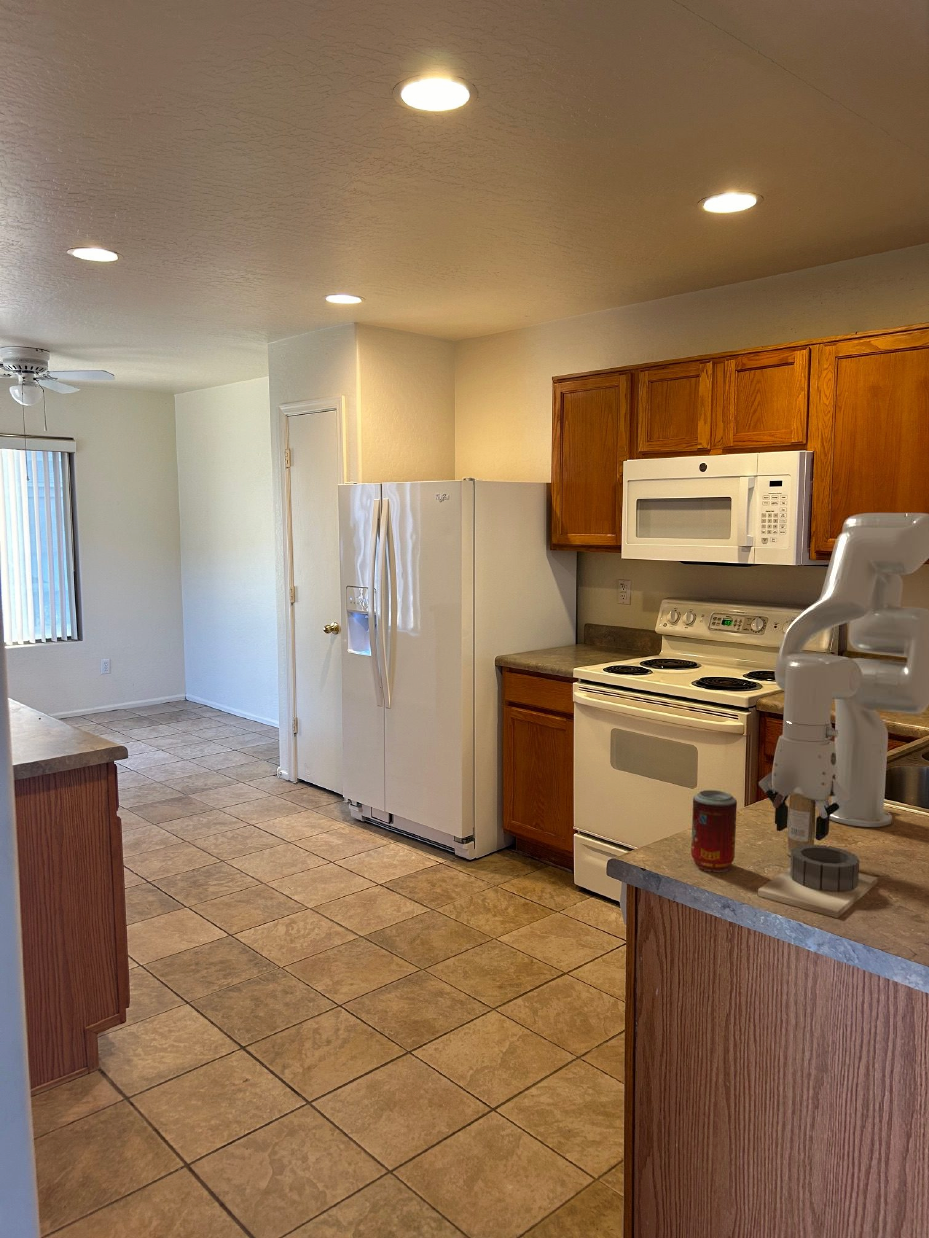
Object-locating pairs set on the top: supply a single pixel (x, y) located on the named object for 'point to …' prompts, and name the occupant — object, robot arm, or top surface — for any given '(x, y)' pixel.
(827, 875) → the collar stand
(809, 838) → the sprinkles bottle
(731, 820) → the soda can
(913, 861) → the top surface
